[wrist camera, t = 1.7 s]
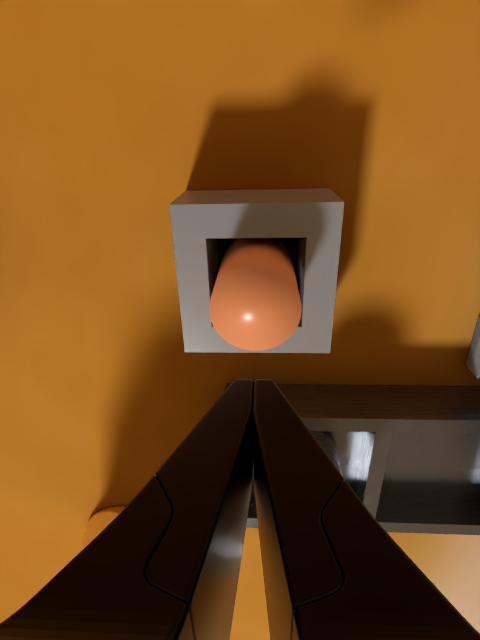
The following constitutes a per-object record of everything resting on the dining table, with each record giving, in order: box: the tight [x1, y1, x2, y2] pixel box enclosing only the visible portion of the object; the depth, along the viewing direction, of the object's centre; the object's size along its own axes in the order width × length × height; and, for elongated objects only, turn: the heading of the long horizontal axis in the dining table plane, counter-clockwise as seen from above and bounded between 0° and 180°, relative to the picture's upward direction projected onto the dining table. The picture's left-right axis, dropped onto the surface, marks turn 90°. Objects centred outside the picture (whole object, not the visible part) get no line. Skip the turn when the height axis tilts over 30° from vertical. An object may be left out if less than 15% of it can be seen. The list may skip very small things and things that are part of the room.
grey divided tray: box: [225, 384, 480, 535], centre depth 21 cm, size 15×8×3 cm, turn 92°
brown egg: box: [209, 238, 302, 351], centre depth 14 cm, size 3×3×4 cm
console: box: [169, 188, 344, 353], centre depth 16 cm, size 6×6×3 cm
